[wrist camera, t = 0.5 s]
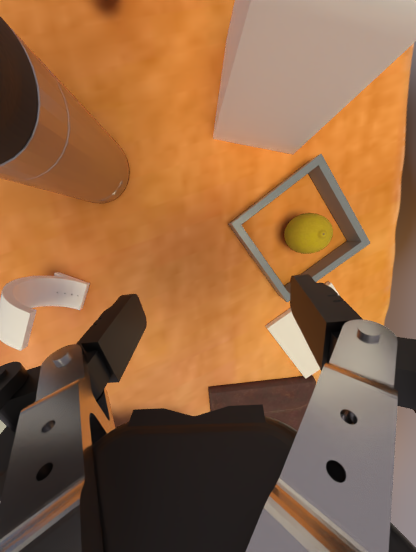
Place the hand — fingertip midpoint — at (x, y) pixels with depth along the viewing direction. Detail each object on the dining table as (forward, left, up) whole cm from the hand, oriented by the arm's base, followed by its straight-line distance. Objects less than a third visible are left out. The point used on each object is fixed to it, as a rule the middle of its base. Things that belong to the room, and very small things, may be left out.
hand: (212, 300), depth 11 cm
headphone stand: (-9, -21, -22) cm, 32 cm away
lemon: (+6, +13, -22) cm, 27 cm away
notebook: (+32, -10, -23) cm, 41 cm away
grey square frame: (+6, +13, -22) cm, 27 cm away
